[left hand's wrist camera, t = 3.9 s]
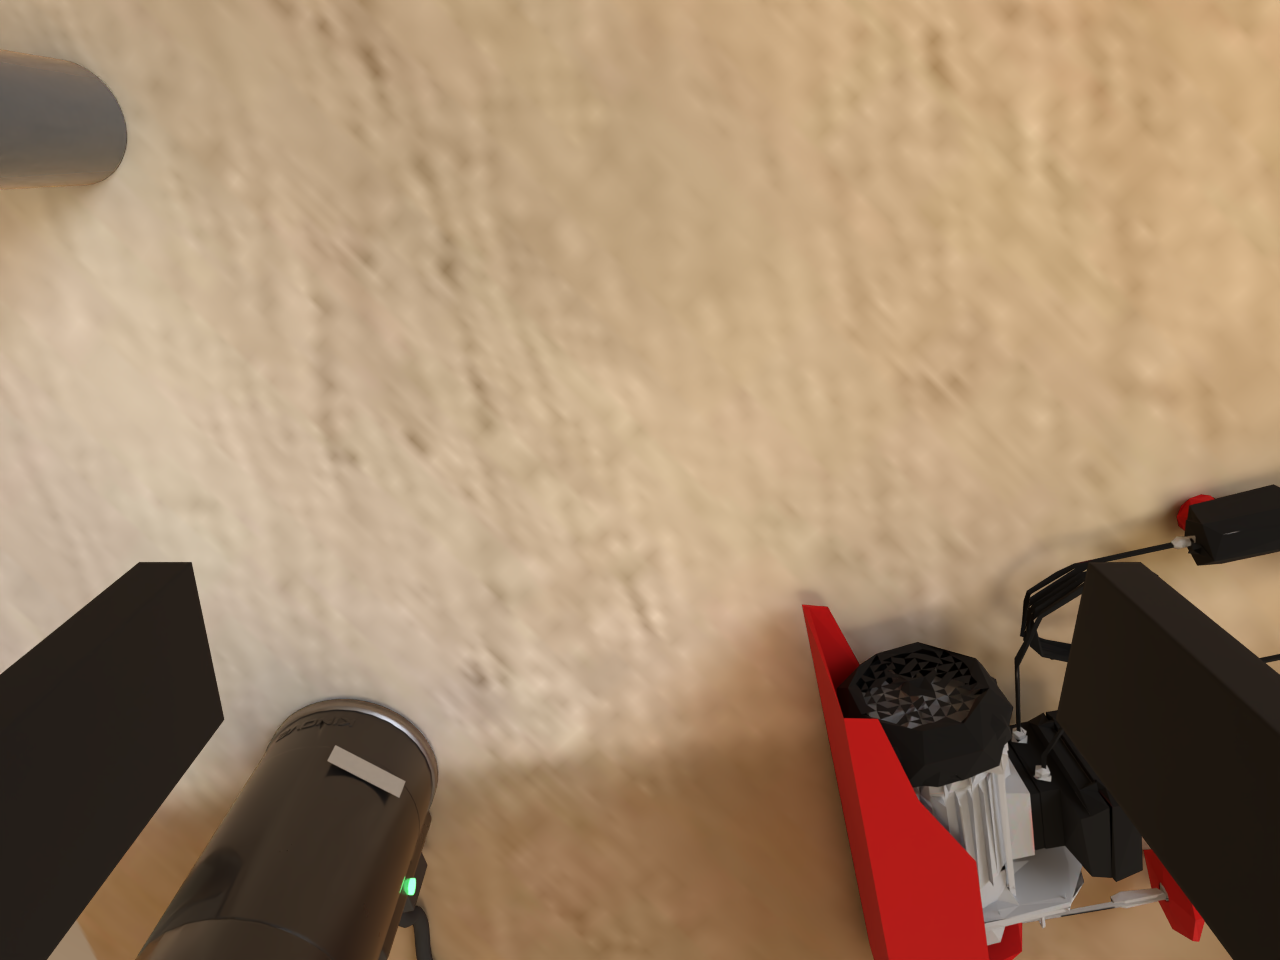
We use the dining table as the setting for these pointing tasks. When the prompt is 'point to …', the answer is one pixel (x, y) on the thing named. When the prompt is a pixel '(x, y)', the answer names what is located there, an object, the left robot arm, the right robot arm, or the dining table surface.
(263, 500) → the dining table surface
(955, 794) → the electric hoist
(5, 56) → the grey cylinder
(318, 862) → the right robot arm
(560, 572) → the dining table surface
